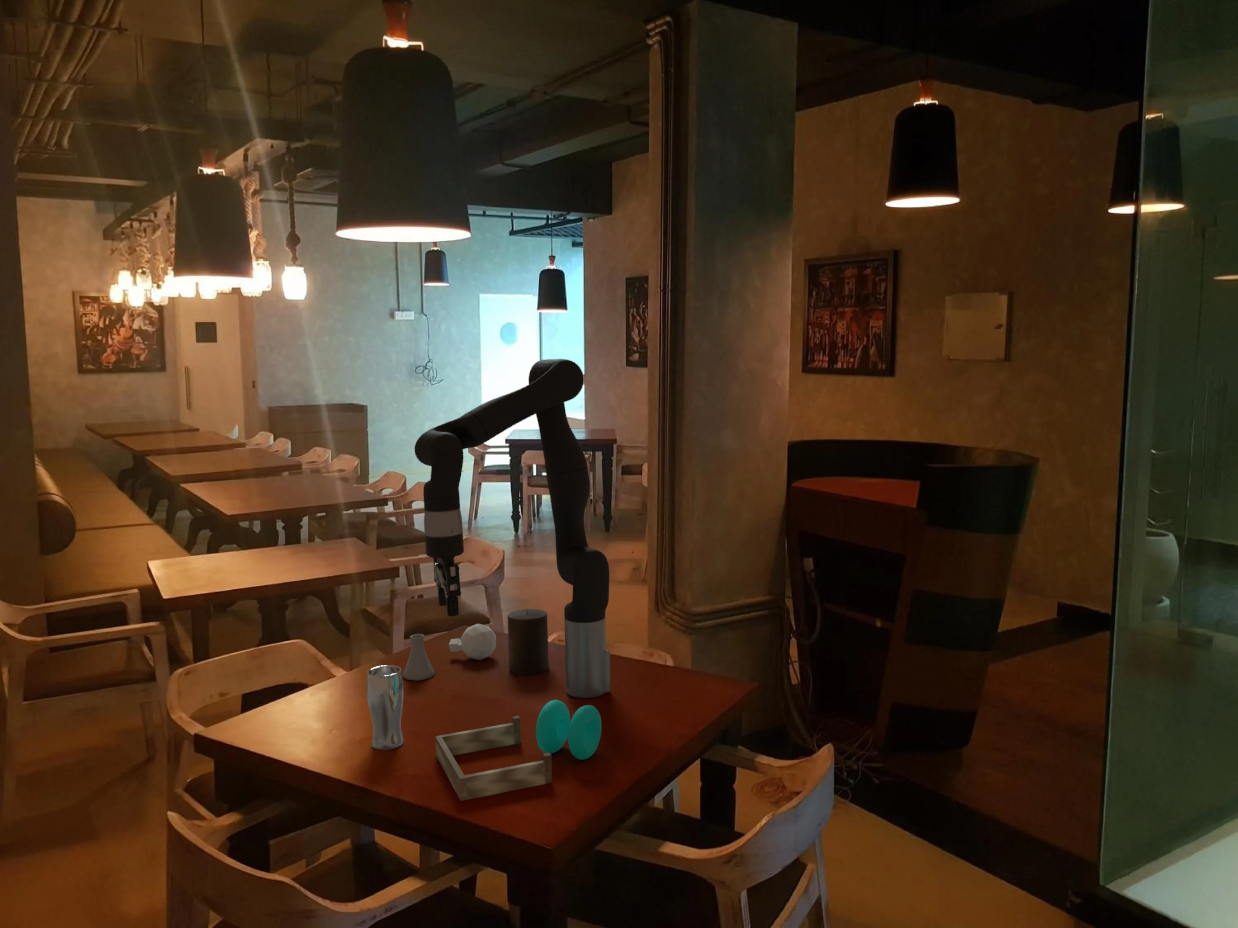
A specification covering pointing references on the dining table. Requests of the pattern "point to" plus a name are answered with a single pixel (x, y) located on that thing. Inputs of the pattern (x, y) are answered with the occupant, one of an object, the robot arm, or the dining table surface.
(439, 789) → the dining table surface
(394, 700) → the beer glass
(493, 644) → the perfume bottle
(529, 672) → the pillar candle
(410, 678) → the flask
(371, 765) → the dining table surface
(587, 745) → the teal diabolo
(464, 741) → the box
